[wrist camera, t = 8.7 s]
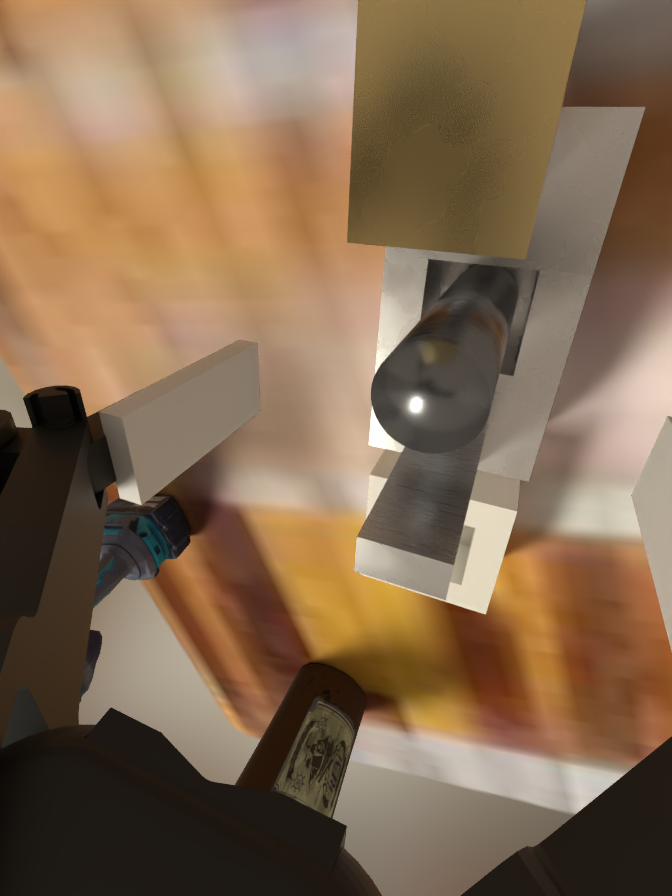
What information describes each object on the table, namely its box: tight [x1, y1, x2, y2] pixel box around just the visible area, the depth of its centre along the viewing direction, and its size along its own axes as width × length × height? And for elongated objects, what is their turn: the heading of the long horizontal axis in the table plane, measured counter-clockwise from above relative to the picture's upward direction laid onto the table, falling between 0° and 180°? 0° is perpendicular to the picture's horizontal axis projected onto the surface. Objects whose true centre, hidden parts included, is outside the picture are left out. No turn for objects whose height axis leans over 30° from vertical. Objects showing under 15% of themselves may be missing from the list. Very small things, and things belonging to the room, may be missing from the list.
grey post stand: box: [354, 78, 645, 600], centre depth 23 cm, size 18×10×18 cm, turn 178°
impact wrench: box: [80, 495, 190, 702], centre depth 45 cm, size 8×23×25 cm, turn 105°
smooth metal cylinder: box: [371, 264, 518, 454], centre depth 22 cm, size 4×4×16 cm
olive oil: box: [235, 664, 366, 818], centre depth 49 cm, size 11×11×25 cm
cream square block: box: [361, 449, 520, 615], centre depth 36 cm, size 10×10×6 cm
